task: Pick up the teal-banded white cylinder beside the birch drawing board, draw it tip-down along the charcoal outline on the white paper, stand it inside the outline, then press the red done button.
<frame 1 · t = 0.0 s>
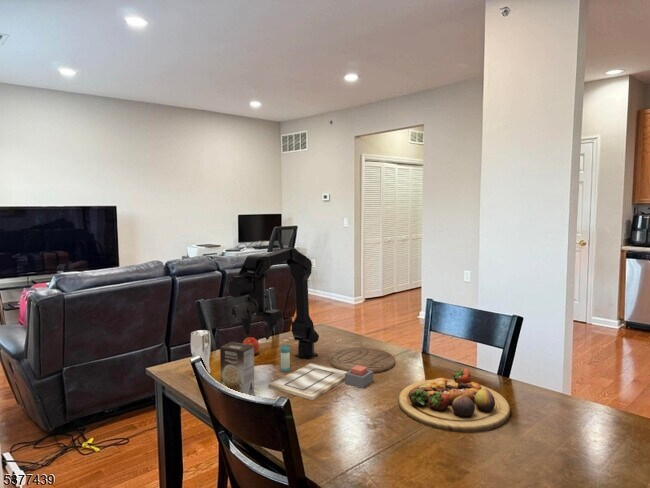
hand: (257, 337, 155), 15 cm above the table, tool pointing down, fingers open, 9 cm apart
teal-banded white cylinder: (285, 370, 164), on the table
button housing: (359, 382, 152), on the table
coffee box: (237, 395, 143), on the table
done button: (359, 372, 152), point 3 cm above the table, slide at 0.0 cm
beer glass: (201, 374, 161), on the table
drawing board: (311, 381, 154), on the table
trivet: (362, 363, 172), on the table
wooden plate with food: (452, 407, 134), on the table
pomegranate: (250, 354, 182), on the table
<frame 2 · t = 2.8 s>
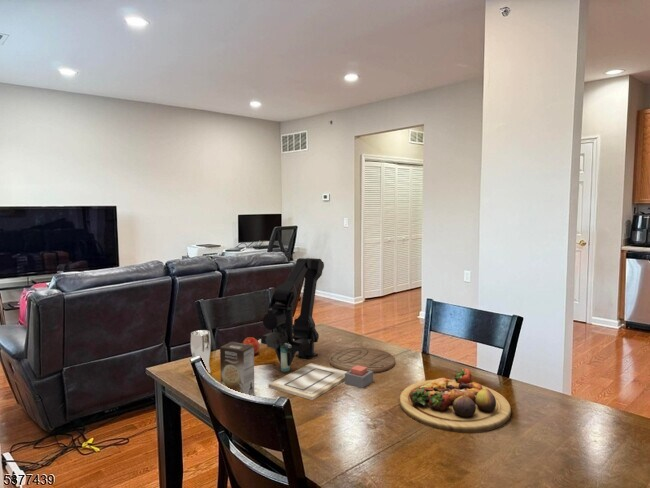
hand: (285, 364, 164), 2 cm above the table, tool pointing down, fingers closed on teal-banded white cylinder, 3 cm apart
teal-banded white cylinder: (285, 370, 164), on the table, touching gripper
everything else where it was.
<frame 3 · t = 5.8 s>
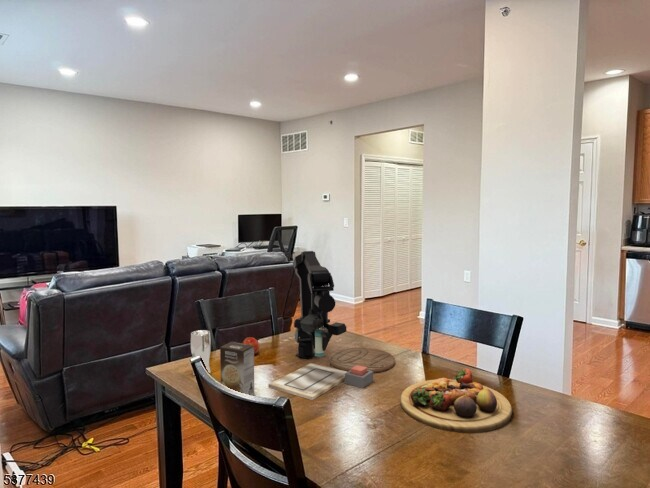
hand: (319, 349, 157), 10 cm above the table, tool pointing down, fingers closed on teal-banded white cylinder, 3 cm apart
teal-banded white cylinder: (319, 355, 157), point 8 cm above the table, touching gripper
everything else where it was.
when the fingers open (4 cm above the table, at t = 9.2 s): teal-banded white cylinder stays where it is, resting on drawing board.
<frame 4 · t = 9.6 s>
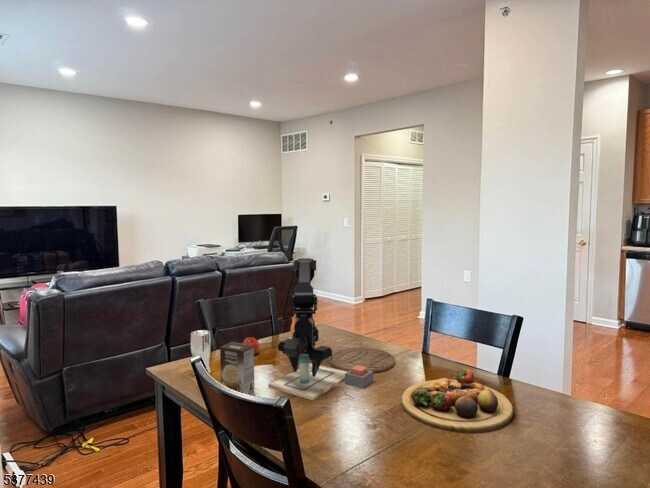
hand: (304, 374, 150), 4 cm above the table, tool pointing down, fingers open, 7 cm apart
teal-banded white cylinder: (304, 381, 150), point 1 cm above the table, touching drawing board
everything else where it was.
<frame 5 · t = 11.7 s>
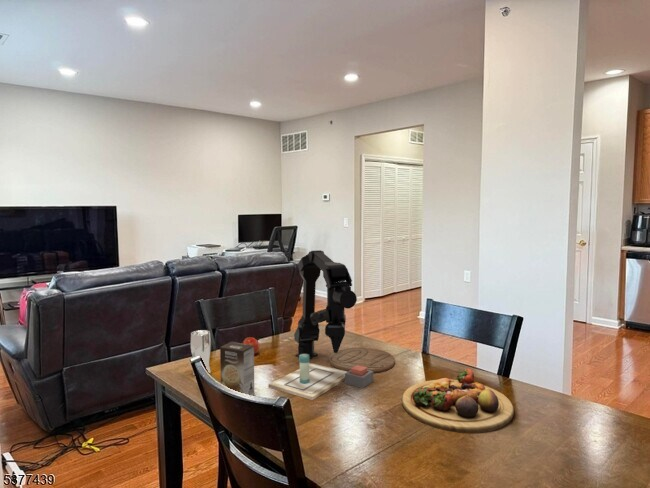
hand: (336, 348, 150), 12 cm above the table, tool pointing down, fingers open, 9 cm apart
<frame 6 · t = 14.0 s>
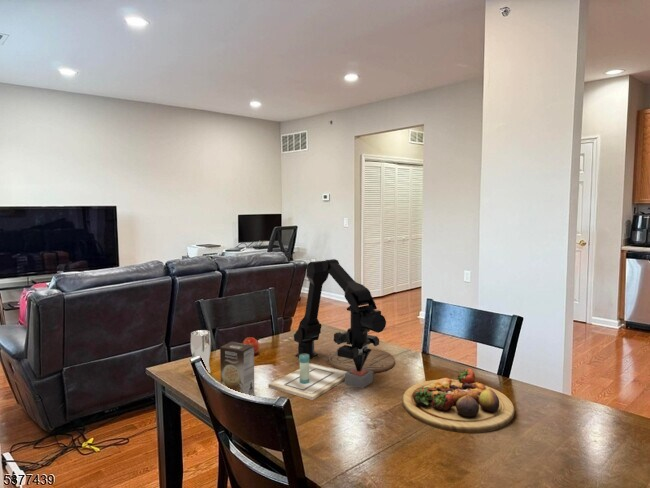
hand: (358, 370, 152), 4 cm above the table, tool pointing down, fingers closed, pressing on done button
done button: (359, 375, 152), point 2 cm above the table, slide at 1.0 cm, touching button housing, gripper
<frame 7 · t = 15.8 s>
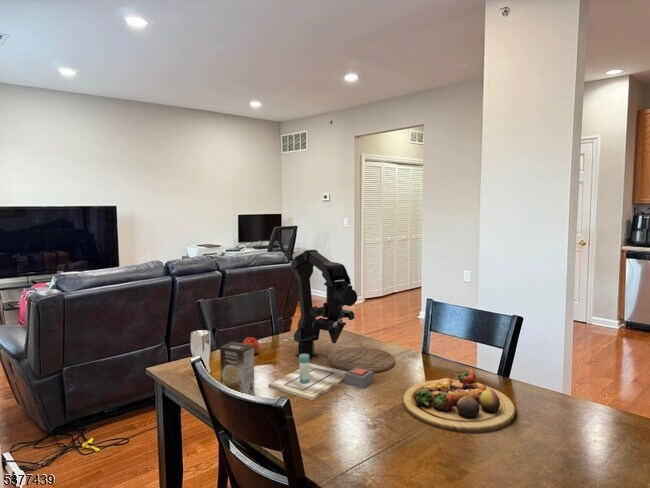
hand: (334, 343, 160), 11 cm above the table, tool pointing down, fingers closed
done button: (359, 375, 152), point 2 cm above the table, slide at 1.0 cm, touching button housing
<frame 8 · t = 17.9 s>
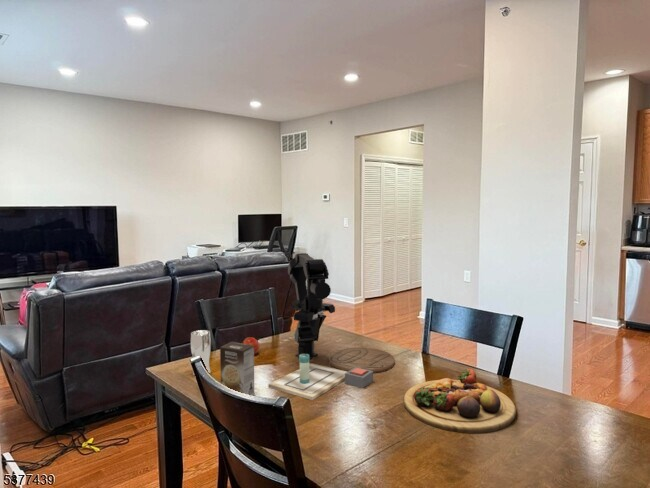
hand: (315, 335, 166), 12 cm above the table, tool pointing down, fingers closed
at the end: teal-banded white cylinder inside the target area on the drawing board (0.6 cm from its centre), point 1.2 cm above the drawing board's base; teal-banded white cylinder tilted 0°; done button slide at 1.0 cm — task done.
